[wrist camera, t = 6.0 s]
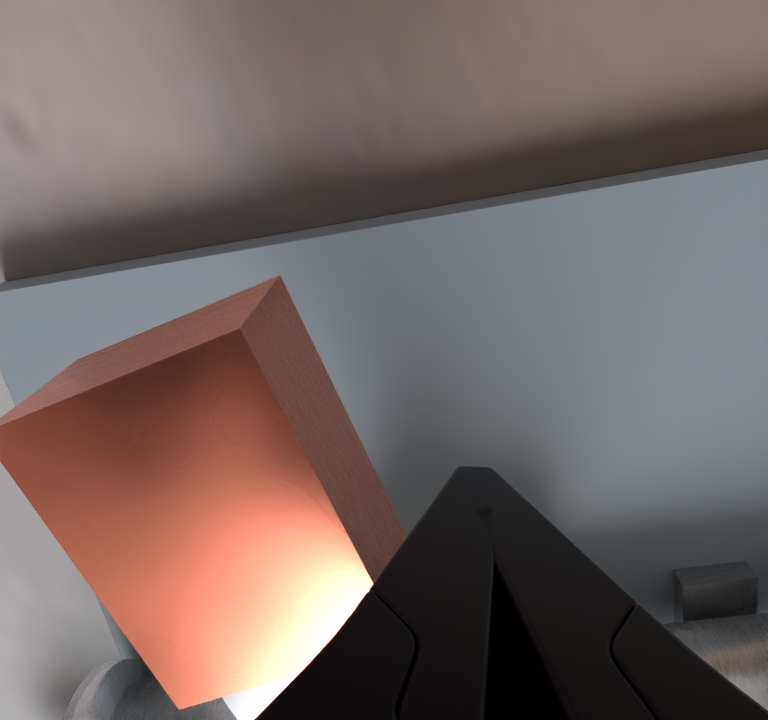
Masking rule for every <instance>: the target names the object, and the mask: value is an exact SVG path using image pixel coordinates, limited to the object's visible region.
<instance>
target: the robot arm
mask: <svg viewBox="0 0 768 720" xmlns="http://www.w3.org/2000/svg"><path fill="white" fill-rule="evenodd" d="M254 720H768V710H766V709H765V708H764V707H762V706H761V705H760V704H759V703H757V702H756V701H755V700H753V699H752V698H751V697H749V696H748V695H747V694H746V693H744V692H743V691H742V690H740V689H739V688H738V687H737V686H735V685H734V684H733V683H732V682H730V681H729V680H728V679H727V678H725V677H724V676H723V675H722V674H720V673H719V672H718V671H717V670H715V669H714V668H713V667H712V666H710V665H709V664H708V663H707V662H705V661H704V660H703V659H702V658H700V657H699V656H698V655H697V654H696V653H695V652H693V651H692V650H691V649H690V648H689V647H688V646H687V645H685V644H684V643H683V642H682V641H681V640H680V639H679V638H677V637H676V636H675V635H674V634H673V633H672V632H671V631H669V630H668V629H667V628H666V627H665V626H664V625H663V624H661V623H660V622H659V621H658V620H657V619H656V618H655V617H654V616H653V615H652V614H651V613H650V612H648V611H647V610H646V609H645V608H644V607H643V606H642V605H640V604H637V602H636V600H635V599H634V598H633V597H632V596H631V595H630V594H629V593H627V592H626V591H625V590H624V589H623V588H622V587H621V586H620V585H619V584H618V583H617V582H616V581H614V580H613V579H612V578H611V577H610V576H609V575H608V574H607V573H606V572H605V571H604V570H603V569H601V568H600V567H599V566H598V565H597V564H596V563H595V562H594V561H593V560H592V559H591V558H590V557H588V556H587V555H586V554H585V553H584V552H583V551H582V550H581V549H580V548H579V547H578V546H576V545H575V544H574V543H573V542H572V541H571V540H570V539H569V538H568V537H567V536H566V535H565V534H563V533H562V532H561V531H560V530H559V529H558V528H557V527H556V526H555V525H554V524H553V523H552V522H550V521H549V520H548V519H547V518H546V517H545V516H544V515H543V514H542V513H541V512H540V511H539V510H537V509H536V508H535V507H534V506H533V505H532V504H531V503H530V502H529V501H528V500H527V499H525V498H524V497H523V496H522V495H521V494H520V493H519V492H518V491H517V490H516V489H515V488H514V487H512V486H511V485H510V484H509V483H508V482H507V481H506V480H505V479H504V478H503V477H502V476H501V475H499V474H498V473H497V472H496V471H495V470H494V469H493V468H491V467H478V466H459V467H457V468H456V470H455V471H454V472H453V474H452V475H451V477H450V478H449V479H448V481H447V482H446V484H445V485H444V486H443V488H442V489H441V491H440V492H439V493H438V495H437V496H436V497H435V499H434V500H433V502H432V503H431V504H430V506H429V507H428V509H427V510H426V511H425V513H424V514H423V516H422V517H421V518H420V520H419V521H418V522H417V524H416V525H415V527H414V528H413V529H412V531H411V532H410V534H409V535H408V536H407V538H406V539H405V541H404V542H403V543H402V545H401V546H400V547H399V549H398V550H397V552H396V553H395V554H394V556H393V557H392V559H391V560H390V561H389V563H388V564H387V566H386V567H385V568H384V570H383V571H382V572H381V574H380V575H379V577H378V578H377V579H376V581H375V582H374V584H373V585H372V586H371V588H370V589H369V592H367V593H366V594H365V596H364V597H363V598H362V600H361V601H360V603H359V604H358V605H357V607H356V608H355V610H354V611H353V612H352V614H351V615H350V616H349V617H348V619H347V620H346V621H345V622H344V624H343V625H342V626H341V627H340V629H339V630H338V631H337V633H336V634H335V635H334V636H333V638H332V639H331V640H330V641H329V642H328V643H327V644H326V645H325V646H324V647H323V649H322V650H321V651H320V652H319V653H318V654H317V655H316V656H315V657H314V658H313V659H312V661H311V662H310V663H309V664H308V665H307V666H306V667H305V668H304V669H303V670H302V671H301V672H300V673H299V674H298V675H297V676H296V677H295V678H294V679H293V680H292V681H291V682H290V684H289V685H288V686H287V687H286V688H285V689H284V690H283V691H282V692H281V693H280V694H279V695H278V696H277V697H276V698H275V699H274V700H273V701H272V702H271V703H270V704H269V705H268V706H267V707H266V708H265V709H264V710H263V711H262V712H261V713H260V714H259V715H258V716H257V717H256V718H255V719H254Z"/></svg>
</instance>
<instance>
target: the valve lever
mask: <svg viewBox="0 0 768 720" xmlns="http://www.w3.org/2000/svg"><path fill="white" fill-rule="evenodd" d="M0 461H1V463H2V464H3V465H4V467H5V468H6V470H7V471H8V472H9V474H10V475H11V477H12V478H13V479H14V481H15V482H16V484H17V485H18V486H19V488H20V489H21V491H22V492H23V493H24V495H25V496H26V497H27V499H28V500H29V502H30V503H31V504H32V506H33V507H34V509H35V510H36V511H37V513H38V514H39V516H40V517H41V518H42V520H43V521H44V523H45V524H46V525H47V527H48V528H49V530H50V531H51V532H52V534H53V535H54V537H55V538H56V539H57V541H58V542H59V543H60V545H61V546H62V548H63V549H64V550H65V552H66V553H67V555H68V556H69V557H70V559H71V560H72V562H73V563H74V564H75V566H76V567H77V569H78V570H79V571H80V573H81V574H82V576H83V577H84V578H85V580H86V581H87V582H88V584H89V585H90V587H91V588H92V589H93V591H94V592H95V594H96V595H97V596H98V598H99V599H100V601H101V602H102V603H103V605H104V606H105V608H106V609H107V610H108V612H109V613H110V615H111V616H112V617H113V619H114V620H115V622H116V623H117V624H118V626H119V627H120V628H121V630H122V631H123V633H124V634H125V635H126V637H127V638H128V640H129V641H130V642H131V644H132V645H133V647H134V648H135V649H136V651H137V652H138V654H139V655H140V656H141V658H142V659H143V661H144V662H145V663H146V665H147V666H148V667H149V669H150V670H151V672H152V673H153V674H154V676H155V677H156V679H157V680H158V681H159V683H160V684H161V686H162V687H163V688H164V690H165V691H166V693H167V694H168V695H169V697H170V698H171V700H172V701H173V702H174V704H175V705H176V706H177V708H178V709H179V710H180V709H183V708H187V707H190V706H194V705H197V704H201V703H204V702H207V701H211V700H214V699H218V698H221V697H222V698H223V700H224V701H225V703H226V704H227V706H228V707H229V708H230V710H231V711H232V713H233V714H234V716H235V717H236V719H237V720H254V719H255V718H256V717H257V716H258V715H259V714H260V713H261V712H262V711H263V710H264V709H265V708H266V707H267V706H268V705H269V704H270V703H271V702H272V701H273V700H274V699H275V698H276V697H277V696H278V695H279V694H280V693H281V692H282V691H283V690H284V689H285V688H286V687H287V686H288V685H289V684H290V682H291V681H292V680H293V679H294V678H295V677H296V676H297V675H298V674H299V673H300V672H301V671H302V670H303V669H304V668H305V667H306V666H307V665H308V664H309V663H310V662H311V661H312V659H313V658H314V657H315V656H316V655H317V654H318V653H319V652H320V651H321V650H322V649H323V647H324V646H325V645H326V644H327V643H328V642H329V641H330V640H331V639H332V638H333V636H334V635H335V634H336V633H337V631H338V630H339V629H340V627H341V626H342V625H343V624H344V622H345V621H346V620H347V619H348V617H349V616H350V615H351V614H352V612H353V611H354V610H355V608H356V607H357V605H358V604H359V603H360V601H361V600H362V598H363V597H364V596H365V594H366V593H367V592H369V589H370V588H371V586H372V585H373V584H374V582H375V581H376V579H377V578H378V577H379V575H380V574H381V572H382V571H383V570H384V568H385V567H386V566H387V564H388V563H389V561H390V560H391V559H392V557H393V556H394V554H395V553H396V552H397V550H398V549H399V547H400V546H401V545H402V543H403V542H404V541H405V535H406V533H405V531H404V529H403V527H402V525H401V523H400V520H399V518H398V516H397V514H396V512H395V510H394V508H393V506H392V504H391V502H390V500H389V498H388V496H387V494H386V492H385V490H384V488H383V485H382V483H381V481H380V479H379V477H378V475H377V473H376V471H375V469H374V467H373V465H372V463H371V461H370V459H369V457H368V455H367V453H366V450H365V448H364V446H363V444H362V442H361V440H360V438H359V436H358V434H357V432H356V430H355V428H354V426H353V424H352V422H351V420H350V418H349V416H348V413H347V411H346V409H345V407H344V405H343V403H342V401H341V399H340V397H339V395H338V393H337V391H336V389H335V387H334V385H333V383H332V381H331V378H330V376H329V374H328V372H327V370H326V368H325V366H324V364H323V362H322V360H321V358H320V356H319V354H318V352H317V350H316V348H315V346H314V343H313V341H312V339H311V337H310V335H309V333H308V331H307V329H306V327H305V325H304V323H303V321H302V319H301V317H300V315H299V313H298V311H297V309H296V306H295V304H294V302H293V300H292V298H291V296H290V294H289V292H288V290H287V288H286V286H285V284H284V282H283V280H282V278H281V276H280V275H279V276H277V277H274V278H272V279H270V280H267V281H265V282H262V283H260V284H258V285H255V286H253V287H250V288H248V289H246V290H243V291H241V292H238V293H236V294H234V295H231V296H229V297H226V298H224V299H221V300H219V301H217V302H214V303H212V304H209V305H207V306H205V307H202V308H200V309H197V310H195V311H193V312H190V313H188V314H185V315H183V316H181V317H178V318H176V319H173V320H171V321H169V322H166V323H164V324H161V325H159V326H157V327H154V328H152V329H149V330H147V331H145V332H142V333H140V334H137V335H135V336H133V337H130V338H128V339H125V340H123V341H120V342H118V343H116V344H113V345H111V346H108V347H106V348H104V349H101V350H99V351H96V352H94V353H92V354H89V355H87V356H84V357H82V358H80V359H77V360H76V361H75V362H73V363H72V364H71V365H69V366H68V367H67V368H65V369H64V370H63V371H62V372H60V373H59V374H58V375H56V376H55V377H54V378H52V379H51V380H50V381H48V382H47V383H46V384H44V385H43V386H42V387H41V388H39V389H38V390H37V391H35V392H34V393H33V394H31V395H30V396H29V397H27V398H26V399H25V400H24V401H22V402H21V403H20V404H18V405H17V406H16V407H14V408H13V409H12V410H10V411H9V412H8V413H7V414H5V415H4V416H3V417H1V418H0Z"/></svg>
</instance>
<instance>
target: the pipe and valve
mask: <svg viewBox="0 0 768 720" xmlns="http://www.w3.org/2000/svg"><path fill="white" fill-rule="evenodd" d="M757 594H758V577H757V576H756V574H755V573H754V572H753V570H752V569H751V568H750V566H749V565H748V563H747V562H746V561H741V562H732V563H723V564H715V565H706V566H697V567H689V568H680V569H673V599H674V623H667V624H663V625H664V626H665V627H666V628H667V629H668V630H669V631H671V632H672V633H673V634H674V635H675V636H676V637H677V638H679V639H680V640H681V641H682V642H683V643H684V644H685V645H687V646H688V647H689V648H690V649H691V650H692V651H693V652H695V653H696V654H697V655H698V656H699V657H700V658H702V659H703V660H704V661H705V662H707V663H708V664H709V665H710V666H712V667H713V668H714V669H715V670H717V671H718V672H719V673H720V674H722V675H723V676H724V677H725V678H727V679H728V680H729V681H730V682H732V683H733V684H734V685H735V686H737V687H738V688H739V689H740V690H742V691H743V692H744V693H746V694H747V695H748V696H749V697H751V698H752V699H753V700H755V701H756V702H757V703H759V704H760V705H761V706H762V707H764V708H765V709H766V710H768V613H760V614H757ZM63 720H237V719H236V717H235V716H234V714H233V713H232V711H231V710H230V708H229V707H228V706H227V704H226V703H225V701H224V700H223V698H222V697H221V698H218V699H214V700H211V701H207V702H204V703H201V704H197V705H194V706H190V707H187V708H183V709H180V710H179V709H178V708H177V706H176V705H175V704H174V702H173V701H172V700H171V698H170V697H169V695H168V694H167V693H166V691H165V690H164V688H163V687H162V686H161V684H160V683H159V681H158V680H157V679H156V677H155V676H154V674H153V673H152V672H151V670H150V669H149V667H148V666H147V665H146V663H145V662H144V661H143V659H142V658H134V659H125V660H116V661H108V662H104V663H102V664H100V665H98V666H97V667H95V668H94V669H92V670H91V671H90V672H89V673H88V674H87V675H86V677H85V678H84V679H83V680H82V682H81V683H80V685H79V686H78V688H77V689H76V691H75V693H74V695H73V697H72V699H71V701H70V703H69V705H68V707H67V710H66V712H65V715H64V718H63Z"/></svg>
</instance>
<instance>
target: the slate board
mask: <svg viewBox="0 0 768 720" xmlns="http://www.w3.org/2000/svg"><path fill="white" fill-rule="evenodd" d="M279 275H280V276H281V278H282V280H283V282H284V284H285V286H286V288H287V290H288V292H289V294H290V296H291V298H292V300H293V302H294V304H295V306H296V309H297V311H298V313H299V315H300V317H301V319H302V321H303V323H304V325H305V327H306V329H307V331H308V333H309V335H310V337H311V339H312V341H313V343H314V346H315V348H316V350H317V352H318V354H319V356H320V358H321V360H322V362H323V364H324V366H325V368H326V370H327V372H328V374H329V376H330V378H331V381H332V383H333V385H334V387H335V389H336V391H337V393H338V395H339V397H340V399H341V401H342V403H343V405H344V407H345V409H346V411H347V413H348V416H349V418H350V420H351V422H352V424H353V426H354V428H355V430H356V432H357V434H358V436H359V438H360V440H361V442H362V444H363V446H364V448H365V450H366V453H367V455H368V457H369V459H370V461H371V463H372V465H373V467H374V469H375V471H376V473H377V475H378V477H379V479H380V481H381V483H382V485H383V488H384V490H385V492H386V494H387V496H388V498H389V500H390V502H391V504H392V506H393V508H394V510H395V512H396V514H397V516H398V518H399V520H400V523H401V525H402V527H403V529H404V531H405V533H406V535H405V539H406V538H407V536H408V535H409V534H410V532H411V531H412V529H413V528H414V527H415V525H416V524H417V522H418V521H419V520H420V518H421V517H422V516H423V514H424V513H425V511H426V510H427V509H428V507H429V506H430V504H431V503H432V502H433V500H434V499H435V497H436V496H437V495H438V493H439V492H440V491H441V489H442V488H443V486H444V485H445V484H446V482H447V481H448V479H449V478H450V477H451V475H452V474H453V472H454V471H455V470H456V468H457V467H459V466H478V467H491V468H493V469H494V470H495V471H496V472H497V473H498V474H499V475H501V476H502V477H503V478H504V479H505V480H506V481H507V482H508V483H509V484H510V485H511V486H512V487H514V488H515V489H516V490H517V491H518V492H519V493H520V494H521V495H522V496H523V497H524V498H525V499H527V500H528V501H529V502H530V503H531V504H532V505H533V506H534V507H535V508H536V509H537V510H539V511H540V512H541V513H542V514H543V515H544V516H545V517H546V518H547V519H548V520H549V521H550V522H552V523H553V524H554V525H555V526H556V527H557V528H558V529H559V530H560V531H561V532H562V533H563V534H565V535H566V536H567V537H568V538H569V539H570V540H571V541H572V542H573V543H574V544H575V545H576V546H578V547H579V548H580V549H581V550H582V551H583V552H584V553H585V554H586V555H587V556H588V557H590V558H591V559H592V560H593V561H594V562H595V563H596V564H597V565H598V566H599V567H600V568H601V569H603V570H604V571H605V572H606V573H607V574H608V575H609V576H610V577H611V578H612V579H613V580H614V581H616V582H617V583H618V584H619V585H620V586H621V587H622V588H623V589H624V590H625V591H626V592H627V593H629V594H630V595H631V596H632V597H633V598H634V599H635V600H636V602H637V604H640V605H642V606H643V607H644V608H645V609H646V610H647V611H648V612H650V613H651V614H652V615H653V616H654V617H655V618H656V619H657V620H658V621H659V622H660V623H661V624H667V623H674V599H673V569H680V568H689V567H697V566H706V565H715V564H723V563H732V562H741V561H746V562H747V563H748V565H749V566H750V568H751V569H752V570H753V572H754V573H755V574H756V576H757V577H758V594H757V614H760V613H768V149H766V150H760V151H754V152H748V153H743V154H737V155H731V156H725V157H720V158H714V159H708V160H702V161H697V162H691V163H685V164H680V165H674V166H668V167H662V168H657V169H651V170H645V171H639V172H634V173H628V174H622V175H616V176H611V177H605V178H599V179H593V180H588V181H582V182H576V183H570V184H565V185H559V186H553V187H547V188H542V189H536V190H530V191H524V192H519V193H513V194H507V195H501V196H496V197H490V198H484V199H479V200H473V201H467V202H461V203H456V204H450V205H444V206H438V207H433V208H427V209H421V210H415V211H410V212H404V213H398V214H392V215H387V216H381V217H375V218H369V219H364V220H358V221H352V222H346V223H341V224H335V225H329V226H323V227H318V228H312V229H306V230H301V231H295V232H289V233H283V234H278V235H272V236H266V237H260V238H255V239H249V240H243V241H237V242H232V243H226V244H220V245H214V246H209V247H203V248H197V249H191V250H186V251H180V252H174V253H168V254H163V255H157V256H151V257H145V258H140V259H134V260H128V261H122V262H117V263H111V264H105V265H100V266H94V267H88V268H82V269H77V270H71V271H65V272H59V273H54V274H48V275H42V276H36V277H31V278H25V279H19V280H13V281H8V282H3V283H1V284H0V371H1V373H2V375H3V378H4V380H5V382H6V385H7V387H8V389H9V392H10V394H11V396H12V399H13V401H14V404H15V406H17V405H18V404H20V403H21V402H22V401H24V400H25V399H26V398H27V397H29V396H30V395H31V394H33V393H34V392H35V391H37V390H38V389H39V388H41V387H42V386H43V385H44V384H46V383H47V382H48V381H50V380H51V379H52V378H54V377H55V376H56V375H58V374H59V373H60V372H62V371H63V370H64V369H65V368H67V367H68V366H69V365H71V364H72V363H73V362H75V361H76V360H77V359H80V358H82V357H84V356H87V355H89V354H92V353H94V352H96V351H99V350H101V349H104V348H106V347H108V346H111V345H113V344H116V343H118V342H120V341H123V340H125V339H128V338H130V337H133V336H135V335H137V334H140V333H142V332H145V331H147V330H149V329H152V328H154V327H157V326H159V325H161V324H164V323H166V322H169V321H171V320H173V319H176V318H178V317H181V316H183V315H185V314H188V313H190V312H193V311H195V310H197V309H200V308H202V307H205V306H207V305H209V304H212V303H214V302H217V301H219V300H221V299H224V298H226V297H229V296H231V295H234V294H236V293H238V292H241V291H243V290H246V289H248V288H250V287H253V286H255V285H258V284H260V283H262V282H265V281H267V280H270V279H272V278H274V277H277V276H279ZM96 597H97V599H98V601H99V604H100V606H101V608H102V611H103V613H104V616H105V618H106V620H107V623H108V625H109V627H110V630H111V632H112V634H113V637H114V639H115V641H116V644H117V646H118V649H119V651H120V653H121V656H122V658H123V660H125V659H134V658H141V656H140V655H139V654H138V652H137V651H136V649H135V648H134V647H133V645H132V644H131V642H130V641H129V640H128V638H127V637H126V635H125V634H124V633H123V631H122V630H121V628H120V627H119V626H118V624H117V623H116V622H115V620H114V619H113V617H112V616H111V615H110V613H109V612H108V610H107V609H106V608H105V606H104V605H103V603H102V602H101V601H100V599H99V598H98V596H97V595H96Z"/></svg>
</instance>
